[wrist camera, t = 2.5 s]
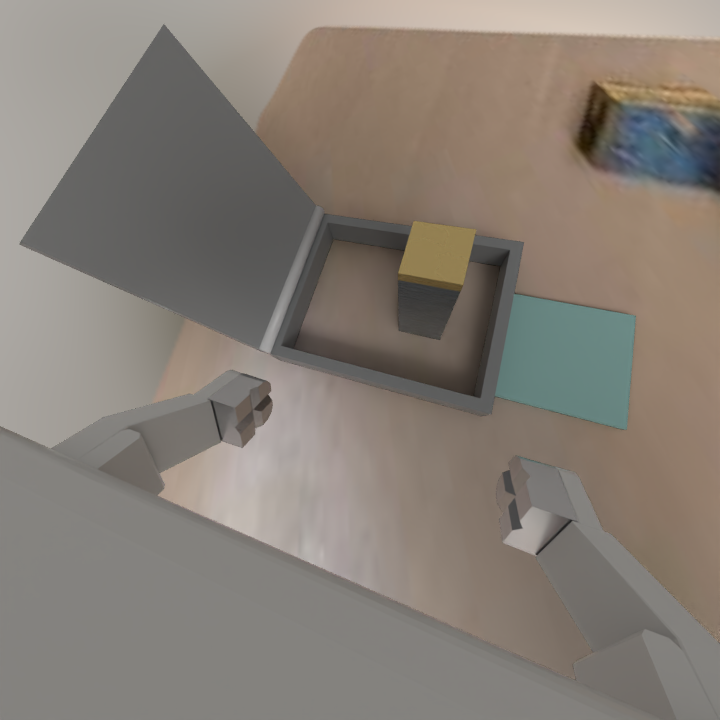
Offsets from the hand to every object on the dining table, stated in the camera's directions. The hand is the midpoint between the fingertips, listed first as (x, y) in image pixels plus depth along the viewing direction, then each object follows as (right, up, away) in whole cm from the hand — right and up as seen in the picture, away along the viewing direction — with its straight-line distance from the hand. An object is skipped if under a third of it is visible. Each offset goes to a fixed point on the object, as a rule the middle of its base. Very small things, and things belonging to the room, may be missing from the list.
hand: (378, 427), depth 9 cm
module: (+6, +7, +18) cm, 20 cm away
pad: (+17, +3, +15) cm, 23 cm away
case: (-1, +8, +19) cm, 21 cm away
